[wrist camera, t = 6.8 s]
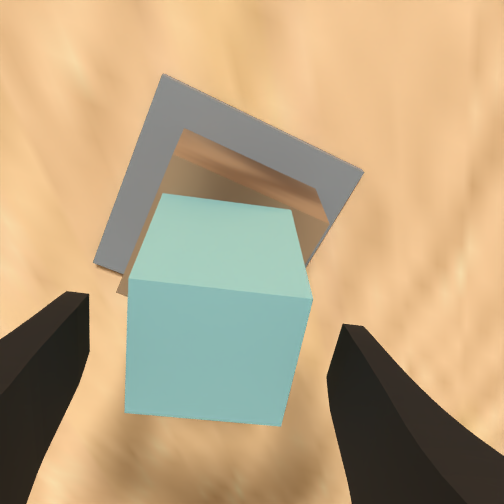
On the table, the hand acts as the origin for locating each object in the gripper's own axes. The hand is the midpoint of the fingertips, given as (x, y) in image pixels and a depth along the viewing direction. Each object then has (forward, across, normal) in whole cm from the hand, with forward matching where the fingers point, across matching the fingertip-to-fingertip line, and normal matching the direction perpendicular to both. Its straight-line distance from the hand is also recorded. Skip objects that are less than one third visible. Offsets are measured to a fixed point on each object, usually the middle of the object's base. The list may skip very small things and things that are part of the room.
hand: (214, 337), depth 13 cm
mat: (+9, 0, 0) cm, 9 cm away
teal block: (+5, 0, 0) cm, 5 cm away
